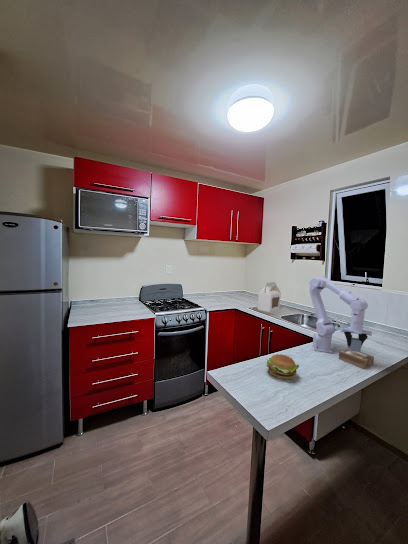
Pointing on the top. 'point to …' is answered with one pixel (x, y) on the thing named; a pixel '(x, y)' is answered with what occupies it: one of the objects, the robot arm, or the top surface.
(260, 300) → the gable box
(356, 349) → the block
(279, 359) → the food
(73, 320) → the top surface
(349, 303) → the robot arm
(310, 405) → the top surface
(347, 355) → the walnut base
